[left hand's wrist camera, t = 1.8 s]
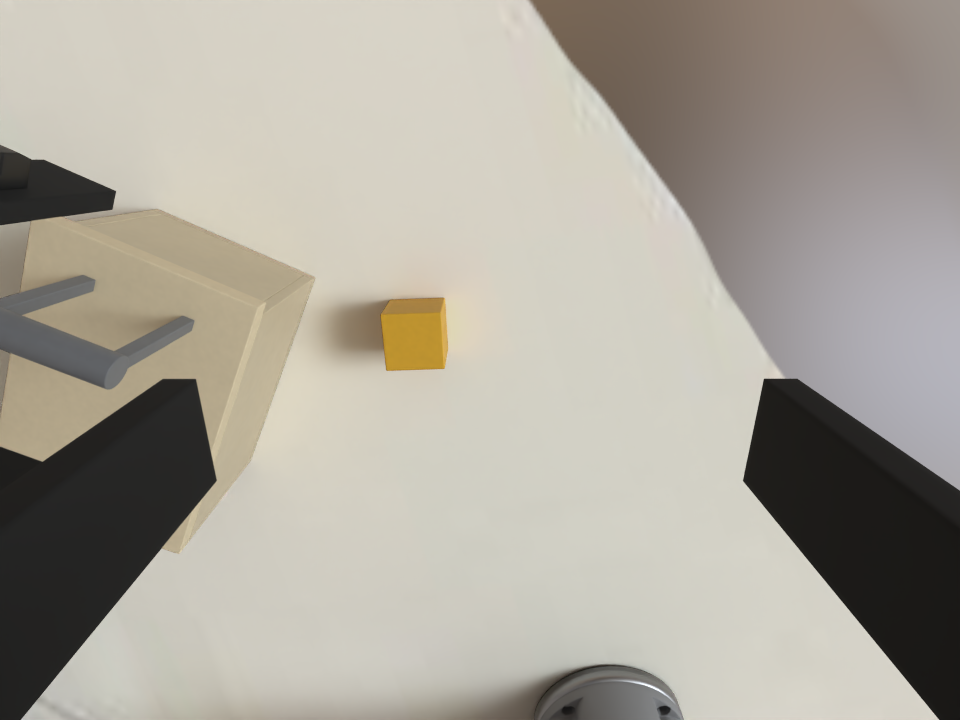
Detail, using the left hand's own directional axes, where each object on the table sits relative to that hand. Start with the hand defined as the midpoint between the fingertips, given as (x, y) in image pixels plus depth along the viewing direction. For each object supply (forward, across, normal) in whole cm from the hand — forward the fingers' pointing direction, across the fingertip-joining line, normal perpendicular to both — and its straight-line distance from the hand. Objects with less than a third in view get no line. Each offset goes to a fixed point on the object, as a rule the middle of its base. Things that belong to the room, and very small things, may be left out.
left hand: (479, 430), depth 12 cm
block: (+28, +5, +6) cm, 29 cm away
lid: (+18, +21, +7) cm, 29 cm away
